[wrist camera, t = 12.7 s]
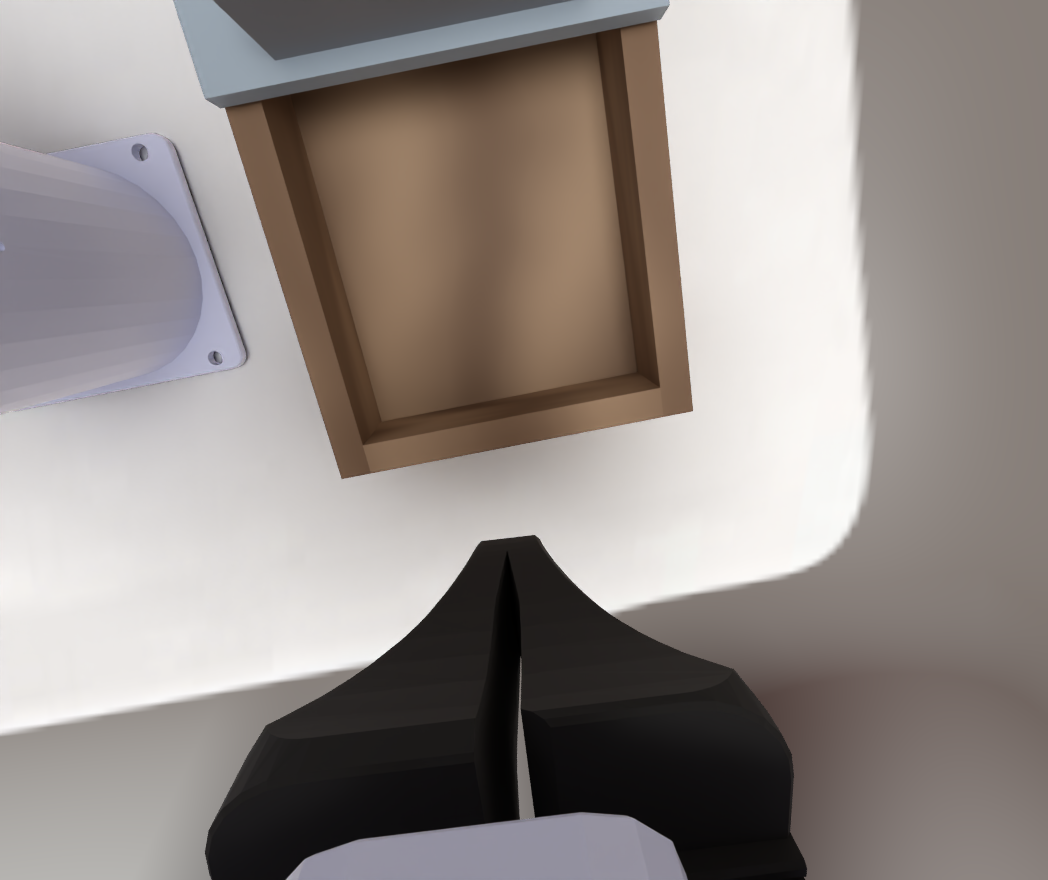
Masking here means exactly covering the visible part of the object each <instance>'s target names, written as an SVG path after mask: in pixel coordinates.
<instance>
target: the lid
mask: <svg viewBox="0 0 1048 880" xmlns="http://www.w3.org/2000/svg"><path fill="white" fill-rule="evenodd" d="M173 1H174V4H175V8H176V11H177V14H178V17H179V20H180V23H181V26H182V29H183V32H184V35H185V38H186V42H187V45H188V48H189V51H190V54H191V57H192V60H193V63H194V66H195V69H196V73H197V76H198V79H199V82H200V85H201V88H202V91H203V94H204V97H205V99H206V100H208V101H209V102H211V103H213V104H214V105H216V106H218V107H219V108H225V107H230V106H235V105H240V104H245V103H249V102H254V101H259V100H264V99H269V98H274V97H279V96H284V95H289V94H294V93H299V92H304V91H309V90H314V89H319V88H324V87H329V86H334V85H339V84H344V83H349V82H354V81H359V80H363V79H368V78H373V77H378V76H383V75H388V74H393V73H398V72H403V71H408V70H413V69H418V68H423V67H428V66H433V65H438V64H443V63H448V62H453V61H458V60H463V59H468V58H473V57H477V56H482V55H487V54H492V53H497V52H502V51H507V50H512V49H517V48H522V47H527V46H532V45H537V44H542V43H547V42H552V41H557V40H562V39H567V38H572V37H577V36H582V35H586V34H591V33H596V32H601V31H606V30H611V29H616V28H621V27H626V26H631V25H636V24H641V23H646V22H651V21H656V20H660V19H661V18H662V16H663V15H664V13H665V11H666V10H667V8H668V7H669V5H670V4H669V0H173Z"/></svg>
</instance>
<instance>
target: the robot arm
mask: <svg viewBox="0 0 1048 880" xmlns="http://www.w3.org/2000/svg"><path fill="white" fill-rule="evenodd" d="M143 146H145V147H146V149H147V150H148V157H147V159H146V160H144V161H142V159H141V158H140V155H139V151H140V149H141V148H142V147H143ZM215 351H217V352H218V353H220V354H221V356H222V360H223V361H222V363H218V362H216V361H215V359H214V357H213V354H214V352H215ZM245 360H246V352H245V349H244V346H243V343H242V340H241V337H240V334H239V332H238V329H237V326H236V323H235V320H234V317H233V314H232V311H231V309H230V306H229V303H228V300H227V297H226V294H225V291H224V288H223V285H222V283H221V280H220V277H219V274H218V271H217V268H216V265H215V262H214V260H213V257H212V254H211V251H210V248H209V245H208V242H207V239H206V237H205V234H204V231H203V228H202V225H201V222H200V219H199V216H198V213H197V211H196V208H195V205H194V202H193V199H192V196H191V193H190V190H189V188H188V185H187V182H186V179H185V176H184V173H183V170H182V167H181V165H180V162H179V159H178V156H177V153H176V150H175V148H174V146H173V144H172V143H171V142H170V141H169V140H168V139H167V138H165V137H163V136H161V135H158V134H156V133H147V134H142V135H137V136H132V137H127V138H122V139H117V140H112V141H107V142H102V143H98V144H93V145H88V146H83V147H78V148H73V149H68V150H63V151H58V152H53V153H48V154H43V153H39V152H36V151H32V150H28V149H25V148H21V147H17V146H13V145H10V144H6V143H2V142H0V415H1V414H5V413H8V412H12V411H19V410H24V409H30V408H35V407H40V406H45V405H50V404H55V403H60V402H65V401H70V400H75V399H81V398H86V397H91V396H96V395H101V394H106V393H111V392H116V391H121V390H126V389H132V388H137V387H142V386H147V385H152V384H157V383H162V382H167V381H172V380H177V379H183V378H188V377H193V376H198V375H203V374H208V373H213V372H218V371H223V370H228V369H234V368H236V367H239V366H241V365H242V364H243V363H244V362H245ZM520 657H521V659H522V660H521V661H522V662H521V663H522V681H521V682H522V683H521V715H522V722H523V729H524V737H525V745H526V753H527V760H528V768H529V775H530V783H531V790H532V798H533V806H534V812H535V818H529V819H521V820H520V817H519V798H518V780H517V734H518V731H517V730H518V708H519V685H520V683H519V682H520ZM793 778H794V773H793V763H792V754H791V752H790V750H789V748H788V746H787V744H786V742H785V740H784V738H783V736H782V734H781V732H780V731H779V729H778V727H777V726H776V724H775V723H774V721H773V719H772V718H771V716H770V715H769V713H768V712H767V710H766V709H765V708H764V706H763V705H762V704H761V702H760V701H759V700H758V699H757V697H756V696H755V695H754V693H753V692H752V691H751V690H750V689H749V687H748V686H747V685H746V684H745V682H744V681H743V680H742V679H741V678H740V676H739V675H738V674H737V673H736V671H735V670H734V669H731V668H728V667H725V666H722V665H719V664H716V663H713V662H710V661H707V660H704V659H701V658H698V657H695V656H692V655H689V654H686V653H683V652H681V651H679V650H676V649H674V648H672V647H670V646H667V645H665V644H663V643H660V642H658V641H656V640H654V639H652V638H650V637H648V636H646V635H644V634H642V633H640V632H638V631H637V630H635V629H633V628H631V627H630V626H628V625H626V624H625V623H623V622H621V621H620V620H618V619H616V618H615V617H613V616H612V615H610V614H609V613H608V612H606V611H605V610H604V609H602V608H601V607H600V606H598V605H597V604H596V603H595V602H594V601H592V600H591V599H590V598H589V597H588V596H587V595H586V594H585V593H583V592H582V591H581V590H580V589H579V588H578V587H577V586H576V585H575V584H574V583H573V582H572V581H571V580H570V579H569V578H568V577H567V575H566V574H565V573H564V572H563V571H562V570H561V569H560V568H559V566H558V565H557V564H556V563H555V562H554V560H553V559H552V558H551V556H550V555H549V554H548V552H547V551H546V549H545V548H544V546H543V545H542V543H541V541H540V539H539V538H538V537H536V536H535V535H531V536H523V537H514V538H505V539H497V540H488V541H481V542H480V543H479V544H478V546H477V547H476V549H475V550H474V552H473V554H472V556H471V557H470V559H469V560H468V562H467V564H466V565H465V567H464V568H463V570H462V571H461V573H460V574H459V575H458V577H457V578H456V580H455V581H454V582H453V584H452V585H451V587H450V588H449V589H448V591H447V592H446V593H445V595H444V596H443V597H442V598H441V599H440V601H439V602H438V603H437V604H436V605H435V607H434V608H433V609H432V610H431V611H430V613H429V614H428V615H427V616H426V617H425V618H424V619H423V620H422V621H421V622H420V623H419V624H418V625H417V626H416V627H415V628H414V629H413V630H412V631H411V632H410V633H409V634H408V635H407V636H405V637H404V638H403V639H402V640H401V641H400V642H398V643H397V644H396V645H395V646H393V647H392V648H391V649H390V650H388V651H387V652H386V653H385V654H383V655H382V656H381V657H380V658H378V659H377V660H376V661H375V662H373V663H372V664H371V665H369V666H368V667H367V668H365V669H364V670H362V671H361V672H359V673H358V674H356V675H355V676H354V677H352V678H351V679H349V680H347V681H346V682H344V683H343V684H341V685H339V686H338V687H336V688H335V689H333V690H332V691H330V692H328V693H327V694H325V695H323V696H322V697H320V698H318V699H316V700H314V701H312V702H311V703H309V704H307V705H305V706H303V707H301V708H299V709H297V710H295V711H294V712H292V713H290V714H288V715H286V716H284V717H282V718H280V719H278V720H276V721H274V722H272V723H270V724H268V725H266V726H265V728H264V730H263V732H262V733H261V735H260V736H259V738H258V740H257V741H256V743H255V745H254V746H253V748H252V749H251V751H250V752H249V754H248V756H247V758H246V760H245V762H244V763H243V765H242V767H241V769H240V771H239V773H238V775H237V777H236V779H235V781H234V783H233V785H232V787H231V788H230V791H229V792H228V794H227V797H226V798H225V800H224V802H223V804H222V806H221V808H220V810H219V812H218V814H217V816H216V818H215V819H214V821H213V823H212V825H211V827H210V829H209V832H208V838H207V844H206V850H205V855H206V860H207V865H208V870H209V874H210V876H211V879H212V880H805V879H804V877H806V874H807V867H806V864H805V860H804V858H803V856H802V854H801V853H800V850H799V848H798V846H797V845H796V843H795V841H794V839H793V837H792V835H791V833H790V825H791V809H792V794H793Z"/></svg>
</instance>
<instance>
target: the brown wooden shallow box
mask: <svg viewBox="0 0 1048 880" xmlns="http://www.w3.org/2000/svg"><path fill="white" fill-rule="evenodd" d="M225 109H226V112H227V116H228V119H229V122H230V125H231V128H232V131H233V135H234V138H235V141H236V144H237V147H238V151H239V154H240V157H241V160H242V163H243V166H244V170H245V173H246V176H247V179H248V182H249V185H250V189H251V192H252V195H253V198H254V201H255V205H256V208H257V211H258V214H259V217H260V220H261V224H262V227H263V230H264V233H265V236H266V239H267V243H268V246H269V249H270V252H271V255H272V259H273V262H274V265H275V268H276V271H277V274H278V278H279V281H280V284H281V287H282V290H283V293H284V297H285V300H286V303H287V306H288V309H289V313H290V316H291V319H292V322H293V325H294V328H295V332H296V335H297V338H298V341H299V344H300V347H301V351H302V354H303V357H304V360H305V363H306V367H307V370H308V373H309V376H310V379H311V382H312V386H313V389H314V392H315V395H316V398H317V401H318V405H319V408H320V411H321V414H322V417H323V421H324V424H325V427H326V430H327V433H328V436H329V440H330V443H331V446H332V449H333V452H334V455H335V459H336V462H337V465H338V468H339V471H340V475H341V478H342V479H344V478H349V477H354V476H360V475H365V474H370V473H375V472H380V471H385V470H391V469H396V468H401V467H406V466H411V465H416V464H422V463H427V462H432V461H437V460H442V459H448V458H453V457H458V456H463V455H468V454H473V453H479V452H484V451H489V450H494V449H499V448H504V447H510V446H515V445H520V444H525V443H530V442H536V441H541V440H546V439H551V438H556V437H561V436H567V435H572V434H577V433H582V432H587V431H592V430H598V429H603V428H608V427H613V426H618V425H623V424H629V423H634V422H639V421H644V420H649V419H655V418H660V417H665V416H670V415H675V414H680V413H686V412H691V411H693V406H692V395H691V385H690V374H689V363H688V352H687V342H686V331H685V320H684V309H683V299H682V288H681V277H680V266H679V255H678V245H677V234H676V223H675V212H674V202H673V191H672V180H671V169H670V159H669V148H668V137H667V126H666V116H665V105H664V94H663V83H662V72H661V62H660V51H659V40H658V29H657V20H656V21H651V22H646V23H641V24H636V25H631V26H626V27H621V28H616V29H611V30H606V31H601V32H596V33H591V34H586V35H582V36H577V37H572V38H567V39H562V40H557V41H552V42H547V43H542V44H537V45H532V46H527V47H522V48H517V49H512V50H507V51H502V52H497V53H492V54H487V55H482V56H477V57H473V58H468V59H463V60H458V61H453V62H448V63H443V64H438V65H433V66H428V67H423V68H418V69H413V70H408V71H403V72H398V73H393V74H388V75H383V76H378V77H373V78H368V79H363V80H359V81H354V82H349V83H344V84H339V85H334V86H329V87H324V88H319V89H314V90H309V91H304V92H299V93H294V94H289V95H284V96H279V97H274V98H269V99H264V100H259V101H254V102H249V103H245V104H240V105H235V106H230V107H225Z"/></svg>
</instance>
